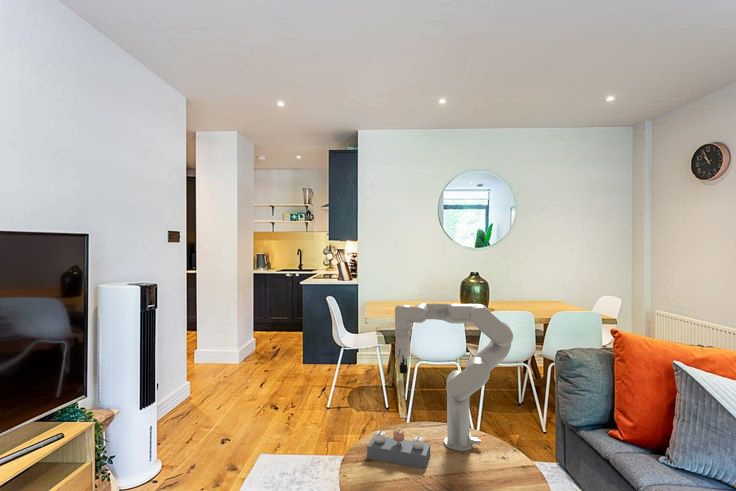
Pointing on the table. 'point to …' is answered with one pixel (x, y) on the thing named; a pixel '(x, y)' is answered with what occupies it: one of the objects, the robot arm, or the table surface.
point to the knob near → (418, 443)
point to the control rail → (399, 452)
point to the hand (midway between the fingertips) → (403, 372)
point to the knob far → (379, 437)
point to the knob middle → (398, 436)
